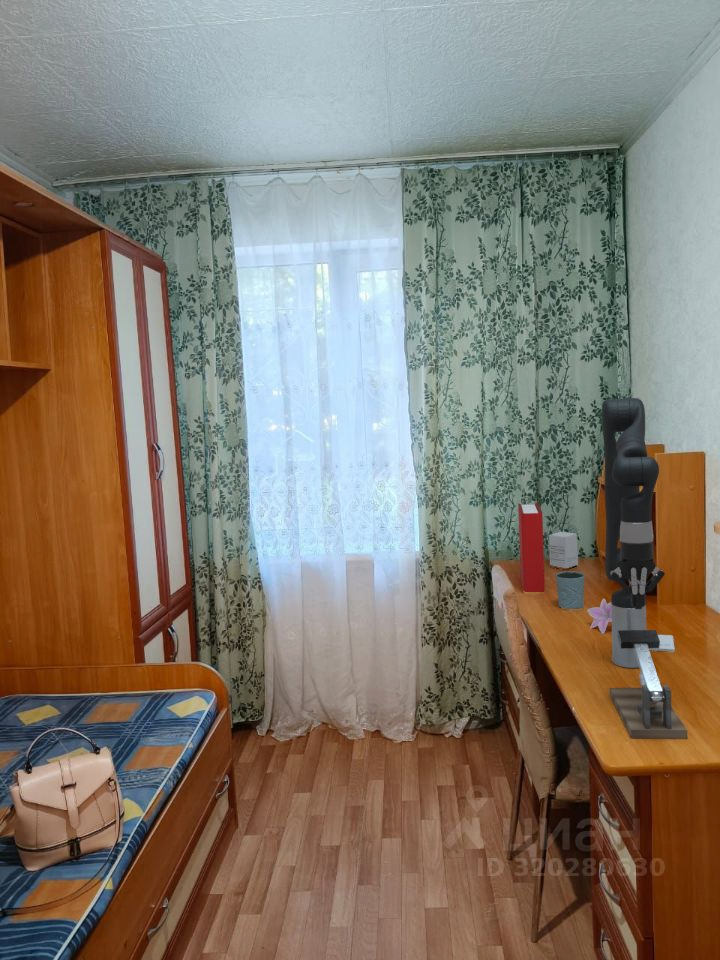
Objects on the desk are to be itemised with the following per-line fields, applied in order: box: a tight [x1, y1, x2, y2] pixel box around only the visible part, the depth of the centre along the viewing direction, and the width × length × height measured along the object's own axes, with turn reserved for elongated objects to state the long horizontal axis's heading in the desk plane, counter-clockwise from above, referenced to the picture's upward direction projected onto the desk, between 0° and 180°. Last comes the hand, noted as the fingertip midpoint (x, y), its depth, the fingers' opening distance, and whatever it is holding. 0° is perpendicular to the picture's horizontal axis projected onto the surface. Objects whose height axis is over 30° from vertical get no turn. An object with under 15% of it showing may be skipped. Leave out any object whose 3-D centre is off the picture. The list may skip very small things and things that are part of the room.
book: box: [517, 502, 546, 592], centre depth 298 cm, size 27×8×32 cm, turn 170°
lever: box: [617, 629, 665, 702], centre depth 175 cm, size 21×9×4 cm, turn 173°
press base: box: [609, 684, 688, 740], centre depth 177 cm, size 24×12×11 cm, turn 173°
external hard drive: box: [649, 634, 676, 653], centre depth 225 cm, size 2×8×12 cm
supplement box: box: [548, 531, 579, 568], centre depth 326 cm, size 9×9×15 cm
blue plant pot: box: [555, 570, 586, 610], centre depth 267 cm, size 10×10×12 cm
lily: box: [587, 598, 612, 635], centre depth 242 cm, size 12×12×10 cm
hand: (637, 608), depth 181 cm, fingers closed
